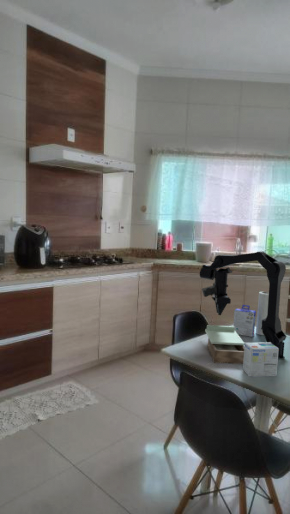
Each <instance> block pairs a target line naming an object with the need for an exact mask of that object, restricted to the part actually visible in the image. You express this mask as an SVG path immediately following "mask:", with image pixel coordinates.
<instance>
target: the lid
mask: <svg viewBox="0 0 290 514" xmlns="http://www.w3.org/2000/svg"><path fill="white" fill-rule="evenodd" d="M204 331H205V333H206V335H207V338H209V340H210V342H211V344H228V345H243V346H245V343H246V342H244V340H243V339H242V338H241V336H240V335H239V334H237V333H236V331H235V327H234V326H233V325H231V326H230V325H213V324H211V325H210V324H207V325H206V328H205V330H204Z"/></svg>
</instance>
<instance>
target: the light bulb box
mask: <svg viewBox="0 0 290 514" xmlns="http://www.w3.org/2000/svg"><path fill="white" fill-rule="evenodd" d="M244 343H245V345H243V346H244V361H243V364H242V370H243V371H244V372H245V374H246V375H248V376H249V377H252V378H253V377H277V373H278V372H277V371H278V360H279V358H278V351H279V348H278V347H276V346H275V345H273V344H272V343H271V342H265V341H263V342H261V341H260V342H244Z"/></svg>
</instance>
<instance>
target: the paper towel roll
mask: <svg viewBox="0 0 290 514" xmlns="http://www.w3.org/2000/svg"><path fill="white" fill-rule="evenodd" d="M268 297H269V291H268V292H267V291H259V292H258V302H257V312H256V323H255V333H256V335H259V336H264V337H265V335H264V334H263V332H262V329H261V327H262V320H263V319H265V318H266V317H267V312H268Z"/></svg>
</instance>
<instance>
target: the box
mask: <svg viewBox="0 0 290 514" xmlns="http://www.w3.org/2000/svg"><path fill="white" fill-rule="evenodd" d="M207 338H208V337H207ZM244 346H245V345H228V344H211V342H210V340H209V338H208V339H207V349H208V352H209V354H210V356H211V358H212V361H213V363H214V364H230V365H231V364H232V365H234V364H235V365H243V361H244Z"/></svg>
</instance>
